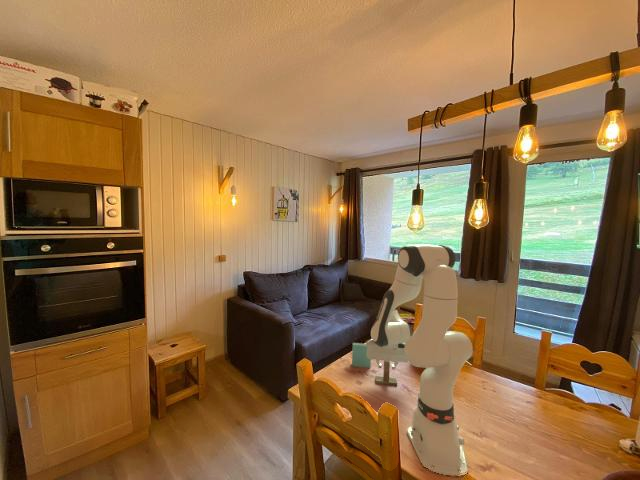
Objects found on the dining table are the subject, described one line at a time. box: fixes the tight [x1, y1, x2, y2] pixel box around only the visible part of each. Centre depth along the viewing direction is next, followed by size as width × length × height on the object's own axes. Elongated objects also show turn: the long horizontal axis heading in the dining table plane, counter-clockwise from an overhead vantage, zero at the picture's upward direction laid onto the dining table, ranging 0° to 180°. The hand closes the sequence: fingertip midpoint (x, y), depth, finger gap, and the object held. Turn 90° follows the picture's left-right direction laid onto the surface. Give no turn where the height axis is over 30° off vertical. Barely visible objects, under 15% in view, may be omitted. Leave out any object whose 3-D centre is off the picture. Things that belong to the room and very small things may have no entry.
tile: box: [351, 342, 372, 369], centre depth 144 cm, size 2×10×12 cm, turn 82°
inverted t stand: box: [374, 360, 398, 387], centre depth 129 cm, size 4×10×10 cm, turn 82°
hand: (386, 368), depth 129 cm, fingers open, 5 cm apart
